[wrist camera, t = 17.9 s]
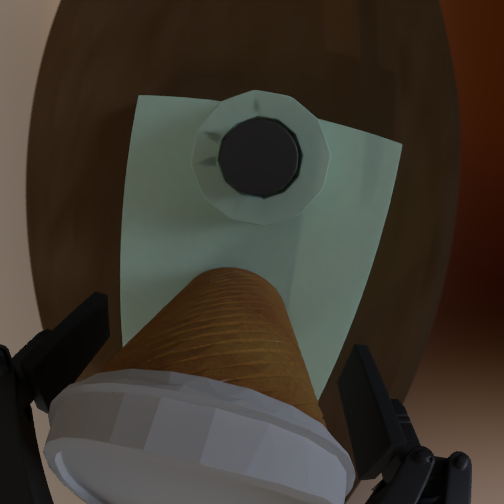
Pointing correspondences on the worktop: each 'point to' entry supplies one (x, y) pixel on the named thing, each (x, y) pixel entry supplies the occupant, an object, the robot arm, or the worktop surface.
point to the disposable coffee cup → (201, 409)
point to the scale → (253, 215)
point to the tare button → (259, 157)
